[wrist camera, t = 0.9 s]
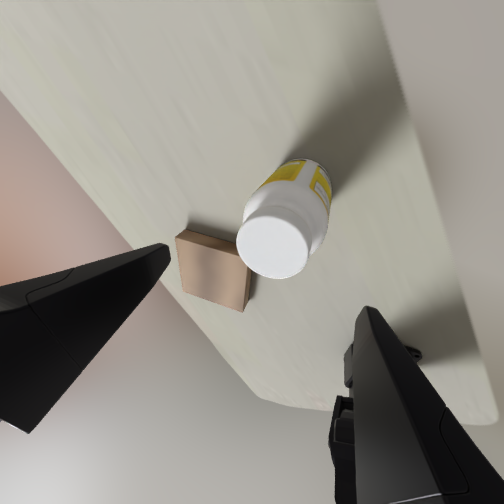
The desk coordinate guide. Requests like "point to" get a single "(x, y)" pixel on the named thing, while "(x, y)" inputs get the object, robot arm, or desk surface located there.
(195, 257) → the base plate
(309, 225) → the supplement bottle
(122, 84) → the desk surface
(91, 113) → the desk surface
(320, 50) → the desk surface
